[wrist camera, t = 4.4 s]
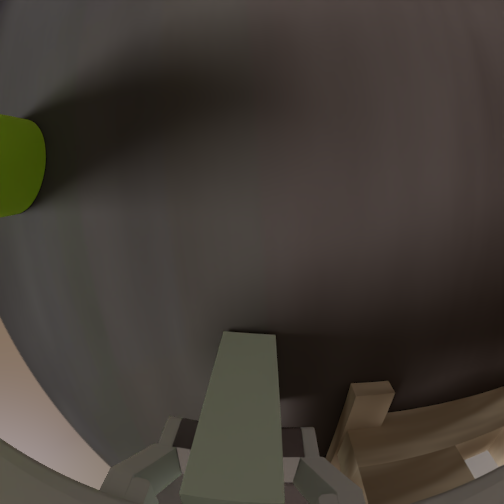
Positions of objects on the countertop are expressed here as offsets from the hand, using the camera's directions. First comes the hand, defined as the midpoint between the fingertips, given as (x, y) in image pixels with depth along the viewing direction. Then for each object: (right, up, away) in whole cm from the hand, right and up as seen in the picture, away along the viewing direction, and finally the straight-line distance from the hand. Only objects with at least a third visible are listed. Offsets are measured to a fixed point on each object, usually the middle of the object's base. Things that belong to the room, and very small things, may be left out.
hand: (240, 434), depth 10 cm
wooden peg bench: (+15, -5, +5) cm, 16 cm away
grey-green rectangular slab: (0, -4, +6) cm, 7 cm away
